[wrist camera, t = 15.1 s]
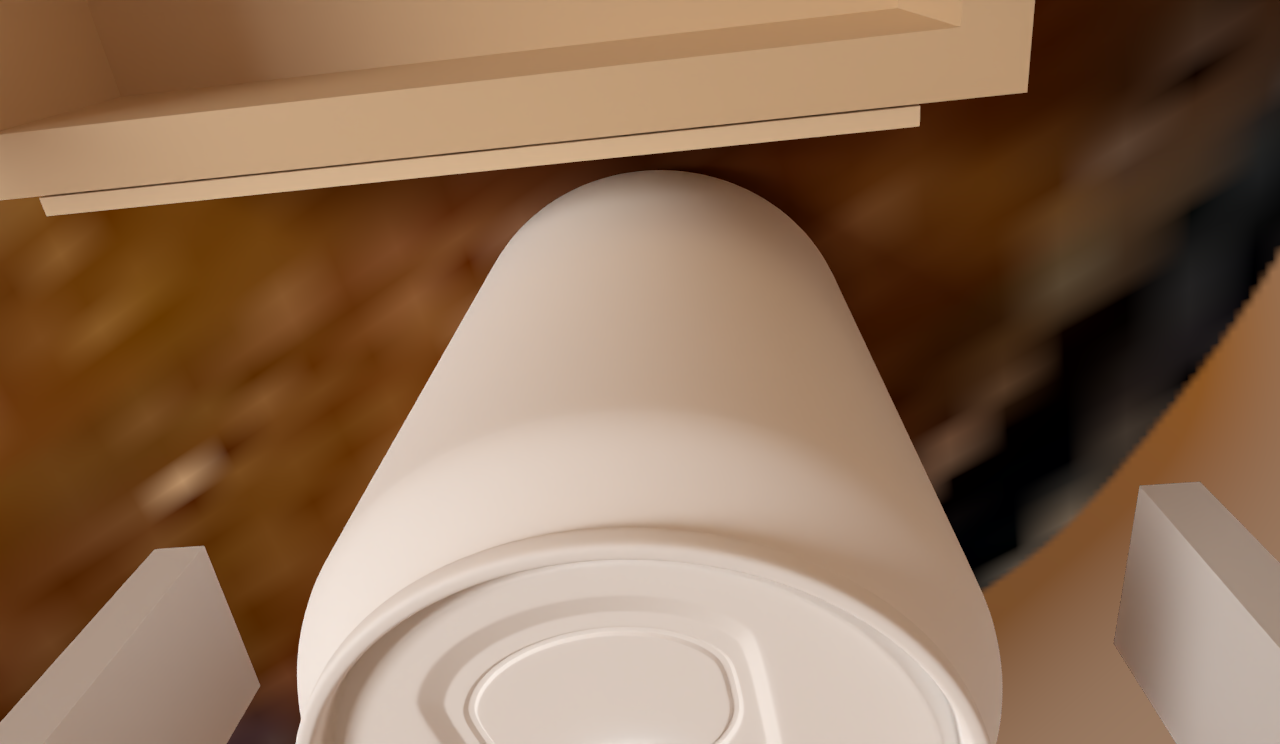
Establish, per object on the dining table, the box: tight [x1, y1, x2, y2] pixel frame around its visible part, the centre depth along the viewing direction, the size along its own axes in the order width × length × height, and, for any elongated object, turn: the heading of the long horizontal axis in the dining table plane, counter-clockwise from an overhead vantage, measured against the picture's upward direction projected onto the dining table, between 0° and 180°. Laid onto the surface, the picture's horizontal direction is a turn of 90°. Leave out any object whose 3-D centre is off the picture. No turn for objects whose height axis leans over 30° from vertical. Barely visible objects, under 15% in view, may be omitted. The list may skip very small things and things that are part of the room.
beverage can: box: [296, 170, 1002, 744], centre depth 14 cm, size 8×8×12 cm
